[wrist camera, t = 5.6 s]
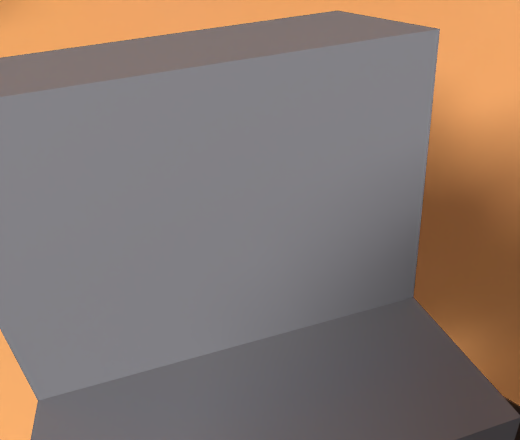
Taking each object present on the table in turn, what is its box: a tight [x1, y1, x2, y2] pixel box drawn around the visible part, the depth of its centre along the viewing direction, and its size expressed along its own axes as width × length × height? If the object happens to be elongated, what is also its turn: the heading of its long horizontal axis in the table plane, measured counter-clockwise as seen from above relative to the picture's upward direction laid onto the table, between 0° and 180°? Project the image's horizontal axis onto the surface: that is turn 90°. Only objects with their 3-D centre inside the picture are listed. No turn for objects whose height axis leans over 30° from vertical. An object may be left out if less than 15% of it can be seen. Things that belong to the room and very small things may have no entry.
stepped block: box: [0, 11, 520, 440], centre depth 6 cm, size 5×8×4 cm, turn 6°
